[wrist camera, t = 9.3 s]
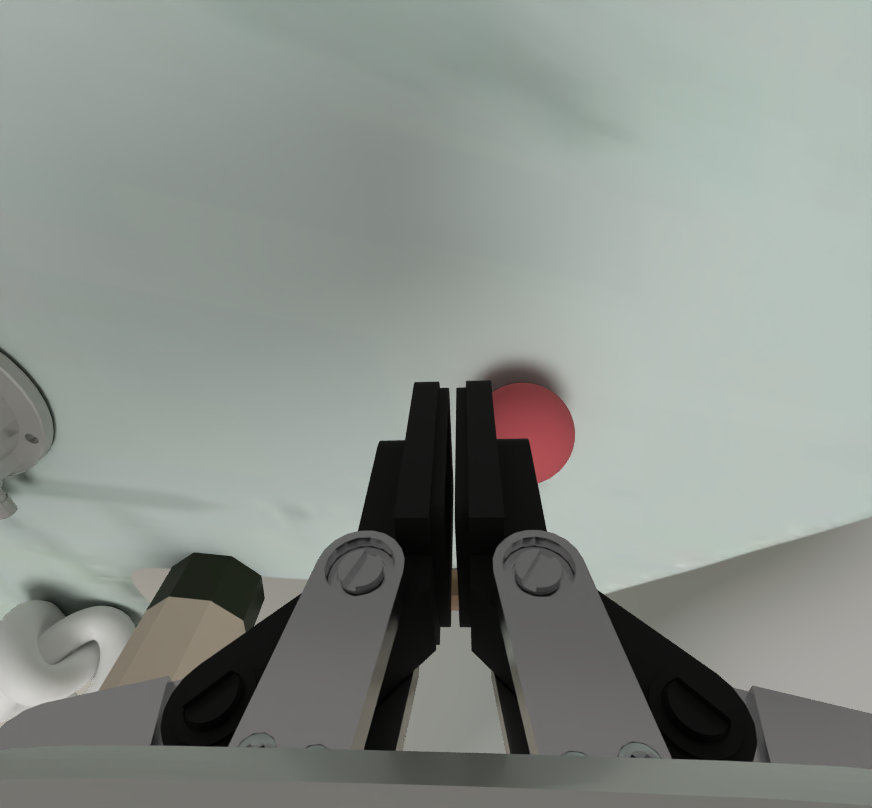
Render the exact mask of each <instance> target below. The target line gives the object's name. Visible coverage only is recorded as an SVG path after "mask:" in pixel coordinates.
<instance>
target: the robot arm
mask: <svg viewBox="0 0 872 808" xmlns="http://www.w3.org/2000/svg"><path fill="white" fill-rule="evenodd" d="M53 434H54V430H53V423H52V418H51V415H50V412H49V410H48V407H47V405H46V403H45V401H44V399H43V398H42V396H41V394H40V393H39V391H38V389H37V388H36V387H35V385H34V384H33V383H32V382H31V381H30V379H29V378H28V377H27V376H26V374H25V373H24V372H23V371H22V370H21V369H20V368H18V367H17V366H16V365H15V364H14V363H13V362H12V361H11V360H10V359H9V358H8V357H6V356H5V355H4V354H2V353H1V352H0V520H1V519H5V518H7V517H10V516H11V515H13V514H14V513H15V512H16V511H17V509H18V508H17V506H16V505H15V503H14V502H13V501H12V499H11V498H10V497H9V495H8V494H6V493H5V492H4V490H3V489H2V488H1V487H2V485H3V481H2V480H3V479H5V478H6V477H7V476H14V475H17V474H20V473H23V472H25V471H27V470H29V469H30V468H31V467H33V466H34V465H36V464H37V463H38V462H39V461H40V460H41V459H42V458H43V457H44V456H45V455H46V454H47V453H48V451H49V449H50V447H51V445H52V441H53ZM455 535H456V556H457V578H458V600H459V622H460V627H471V644H472V652H474V654H476V655H477V656H478V657H479V658H480V659H481V660H482V661H483V662H484V663H485V664H486V665H487V666H488V667H489V668H490V669H491V679H492V684H493V689H494V694H495V699H496V704H497V709H498V715H499V719H500V725H501V730H502V734H503V740H504V745H505V749H506V754H491V753H454V752H452V753H451V752H418V751H403V746H404V741H405V737H406V732H407V727H408V723H409V718H410V714H411V709H412V705H413V700H414V695H415V691H416V686H417V682H418V677H419V665H420V664H422V663H423V662H424V661H425V660H426V659H427V658H428V657H429V656H430V655H431V654H432V653H433V652H435V650H436V645H439V644H440V627H451V597H452V542H453V465H452V443H451V421H450V399H449V388H440V384H439V382H415V383H414V387H413V394H412V400H411V406H410V413H409V419H408V425H407V432H406V438H405V440H397V441H380V442H379V444H378V447H377V451H376V456H375V460H374V464H373V469H372V473H371V477H370V482H369V486H368V490H367V495H366V499H365V503H364V508H363V512H362V516H361V521H360V525H359V529H358V531H357V532H353V533H349V534H346V535H344V536H343V537H341V538H339V539H337V540H335V541H334V542H333V543H331V544H330V545H329V546H328V547H327V548H326V549H325V550H324V551H323V553H322V554H321V556H320V557H319V559H318V561H317V563H316V565H315V567H314V569H313V571H312V573H311V575H310V577H309V579H308V581H307V584H306V586H305V588H304V590H303V592H302V593H301V594H300V595H298V596H297V597H296V598H294V599H293V600H291V601H290V602H288V603H287V604H285V605H284V606H283V607H281V608H280V609H278V610H277V611H276V612H274V613H273V614H271V615H270V616H268V617H267V618H266V619H264V620H263V621H261V622H260V623H258V624H257V625H255V626H254V627H253V628H251V629H250V630H248V631H247V632H245V633H244V634H243V635H241V636H240V637H238V638H237V639H235V640H234V641H232V642H231V643H230V644H228V645H227V646H225V647H224V648H222V649H221V650H220V651H218V652H217V653H215V654H214V655H212V656H211V657H210V658H208V659H207V660H205V661H204V662H202V663H201V664H200V665H198V666H197V667H196V668H195V669H193V670H192V671H191V672H190V673H189V674H188V675H186V676H185V677H184V678H183V679H181V680H176V681H172V680H171V679H170V677H169V676H165V677H160V678H156V679H151V680H147V681H142V682H137V683H133V684H128V685H124V686H119V687H115V688H110V689H106V690H101V691H96V692H92V693H87V694H83V695H79V696H74V697H69V698H64V699H60V700H55V701H51V702H46V703H42V704H40V705H37V706H34V707H32V708H29V709H26V710H24V711H23V712H21V713H20V714H18V715H17V716H15V717H14V718H12V719H11V720H9V721H7V722H6V723H5V724H4V725H3V726H2V727H1V728H0V808H872V714H870V713H866V712H862V711H858V710H853V709H849V708H845V707H841V706H836V705H832V704H827V703H824V702H820V701H815V700H811V699H807V698H803V697H798V696H794V695H790V694H786V693H781V692H777V691H773V690H769V689H764V688H760V687H756V686H752V687H751V689H750V690H749V692H748V691H744V690H740V689H735V688H733V687H731V686H730V685H729V684H728V683H727V682H726V681H725V680H723V679H722V678H721V677H720V676H719V675H718V674H716V673H715V672H714V671H712V670H711V669H709V668H708V667H706V666H705V665H703V664H702V663H701V662H699V661H698V660H696V659H695V658H693V657H692V656H691V655H689V654H688V653H687V652H685V651H684V650H682V649H681V648H679V647H678V646H677V645H675V644H674V643H672V642H671V641H669V640H668V639H667V638H665V637H664V636H662V635H661V634H659V633H658V632H656V631H655V630H654V629H652V628H651V627H649V626H648V625H647V624H645V623H644V622H642V621H641V620H639V619H638V618H636V617H635V616H634V615H632V614H631V613H629V612H628V611H626V610H625V609H623V608H622V607H621V606H619V605H618V604H617V603H615V602H614V601H612V600H611V599H609V598H608V597H607V596H605V595H604V594H602V593H601V592H599V591H598V590H597V589H596V587H595V584H594V582H593V580H592V578H591V575H590V573H589V571H588V569H587V566H586V564H585V562H584V560H583V558H582V556H581V555H580V553H579V552H578V550H577V549H576V548H575V547H574V546H573V545H572V544H571V543H569V542H568V541H567V540H566V539H564V538H562V537H560V536H558V535H556V534H554V533H550V532H547V530H546V525H545V520H544V514H543V509H542V504H541V499H540V494H539V489H538V483H537V478H536V473H535V468H534V463H533V457H532V452H531V447H530V443H529V440H528V438H521V439H497V436H496V426H495V416H494V407H493V397H492V387H491V380H490V381H466V388H457V390H456V460H455Z"/></svg>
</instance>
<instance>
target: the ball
mask: <svg viewBox="0 0 872 808" xmlns="http://www.w3.org/2000/svg"><path fill="white" fill-rule="evenodd" d="M492 397H493V407H494V416H495V426H496V436H497V439H521V438H528V440H529V443H530V447H531V452H532V457H533V463H534V468H535V473H536V478H537V483H540V482H543V481H545V480H547V479H549V478H551V477H552V476H554V475H555V474H556V473H557V472H559V471H560V470H561V469H562V467H563V466H564V465H565V464H566V462H567V461H568V459H569V457H570V455H571V453H572V450H573V446H574V442H575V428H574V423H573V419H572V416H571V414H570V411H569V410H568V408H567V406H566V405H565V404H564V402H563V401H562V400H561V399H560V398H559V397H558V396H557V395H556V394H554V393H553V392H552V391H550V390H548V389H547V388H545V387H542V386H539V385H536V384H532V383H513V384H508V385H505V386H503V387H500V388H498V389H497V390H495V391H493V392H492Z"/></svg>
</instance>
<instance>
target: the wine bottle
mask: <svg viewBox="0 0 872 808" xmlns="http://www.w3.org/2000/svg"><path fill="white" fill-rule="evenodd" d="M263 601H264V591H263V584H262V578H261V576H260V575H259V574H257V573H256V572H254V571H253V570H251V569H250V568H248V567H247V566H245V565H244V564H242V563H241V562H239V561H238V560H236V559H235V558H233V557H230V556H221V555H211V554H202V553H193V554H191V555H190V556H188V557H187V558H185V559H184V560H182V561H181V562H179V563H178V564H176V565H175V566H173V567H172V568H171V570H170V572H169V574H168V575H167V577H166V578H165V580H164V582H163V583H162V585H161V587H160V589H159V590H158V592H157V593H156V595H155V597H154V599H153V600H152V602H151V603H150V605H149V607H148V609H147V610H146V612H145V614H144V615H143V617H142V619H141V620H140V622H139V624H138V625H137V627H136V629H135V630H134V632H133V634H132V635H131V637H130V639H129V640H128V642H127V644H126V645H125V647H124V649H123V650H122V652H121V654H120V655H119V657H118V659H117V660H116V662H115V664H114V665H113V667H112V669H111V670H110V672H109V674H108V675H107V677H106V679H105V680H104V682H103V684H102V685H101V687H100V689H99V690H98V691H101V690H106V689H110V688H115V687H119V686H124V685H128V684H133V683H137V682H142V681H147V680H151V679H156V678H160V677H165V676H169V677H170V679H171V680H172V681H176V680H181V679H183V678H184V677H185V676H186V675H188V674H189V673H190V672H191V671H192V670H193V669H195V668H196V667H197V666H198V665H200V664H201V663H202V662H204V661H205V660H207V659H208V658H210V657H211V656H212V655H214V654H215V653H217V652H218V651H220V650H221V649H222V648H224V647H225V646H227V645H228V644H230V643H231V642H232V641H234V640H235V639H237V638H238V637H240V636H241V635H243V634H244V633H245V632H247V631H248V630H250V629H251V628H253V627H254V625H255V622H256V619H257V617H258V614H259V611H260V609H261V606H262V604H263Z"/></svg>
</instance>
